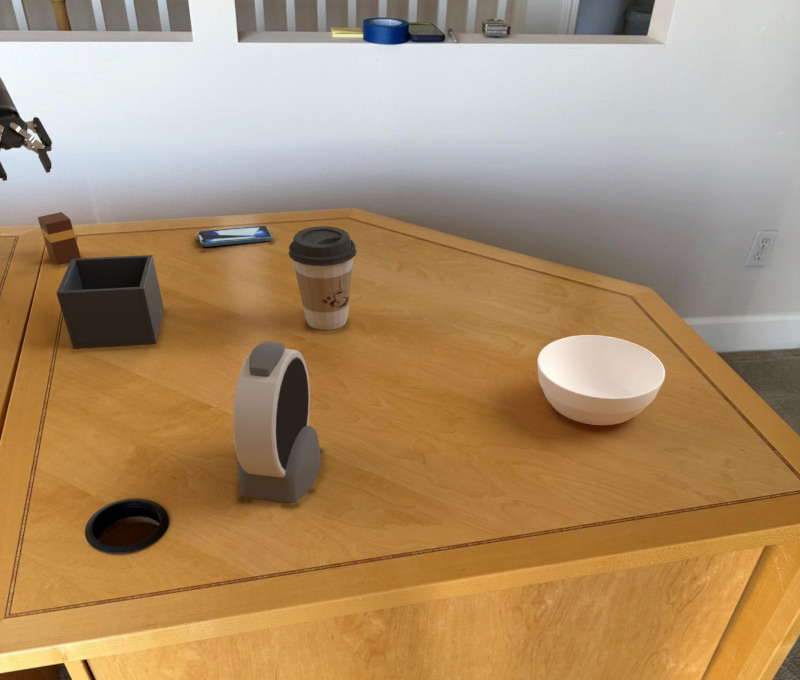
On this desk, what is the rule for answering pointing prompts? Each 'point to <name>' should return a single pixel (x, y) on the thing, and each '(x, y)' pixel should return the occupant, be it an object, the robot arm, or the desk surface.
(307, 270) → the coffee cup
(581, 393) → the bowl
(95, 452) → the desk surface
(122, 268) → the trash bin
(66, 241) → the chocolate box
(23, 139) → the robot arm
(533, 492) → the desk surface
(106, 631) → the desk surface
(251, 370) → the alarm clock
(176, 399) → the desk surface
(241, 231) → the smartphone
